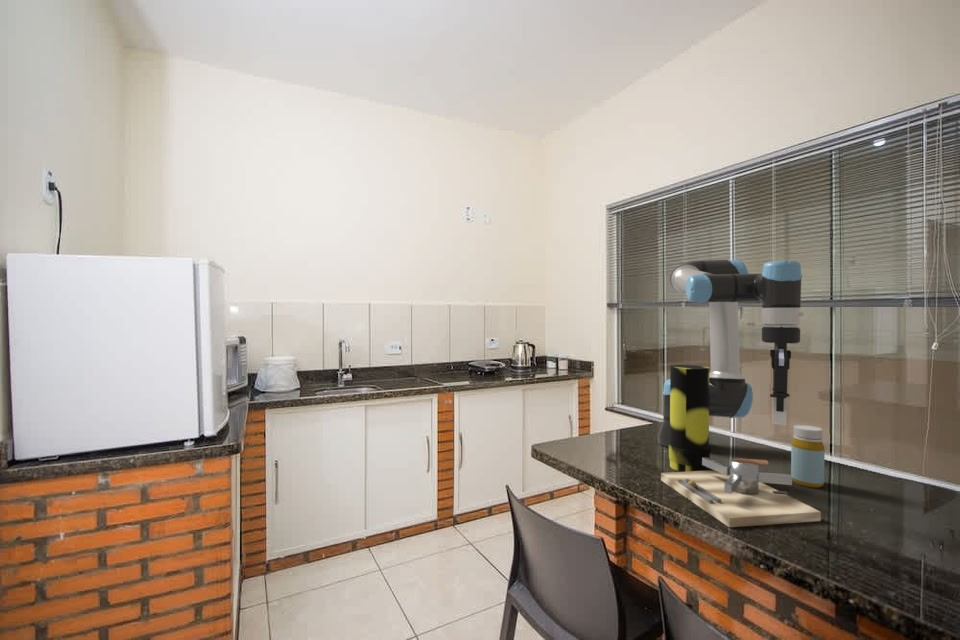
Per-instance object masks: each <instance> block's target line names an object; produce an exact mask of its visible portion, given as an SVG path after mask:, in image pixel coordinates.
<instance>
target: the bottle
mask: <svg viewBox="0 0 960 640" xmlns="http://www.w3.org/2000/svg"><path fill="white" fill-rule="evenodd" d="M823 433H824V432H823V428H821V427H819V426H814V425H808V424H795V425H793V439H792V441H791V444H790V445H791V446H790V447H791V450H790V452H791V454H790V455H791V456H790V459H791V461H790V463H791V464H790V475H791V476H792V482H794V483H795V484H798V485H800V486H803V487H806V488H812V489H813V488H815V489H817V488H822V487H823V486H824V485H825V455H826V454H825V446H824V443H823V437H824V436H823Z"/></svg>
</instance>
